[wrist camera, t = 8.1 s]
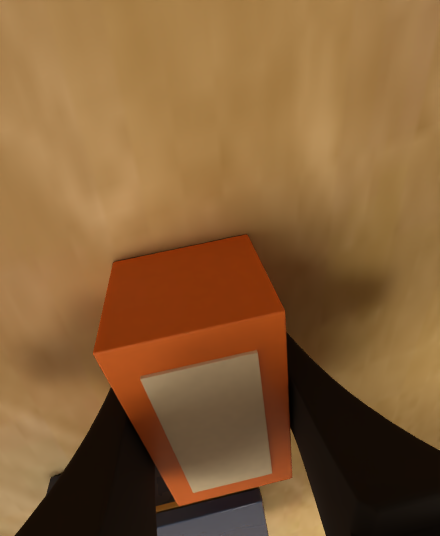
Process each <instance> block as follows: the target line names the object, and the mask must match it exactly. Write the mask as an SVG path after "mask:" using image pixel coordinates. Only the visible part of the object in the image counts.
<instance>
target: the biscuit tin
mask: <svg viewBox="0 0 440 536" xmlns="http://www.w3.org/2000/svg"><path fill="white" fill-rule="evenodd" d="M60 476H61V475H58V476H54V477H51V479H50V483H49V486H48V490H47V494H48V492H49V491H50V490H51V488H52V487H53V486H54V484H55V483H56V481H57V480H58V479H59V477H60ZM47 494H46V495H47ZM155 501H156V523H157V536H268V530H267V524H266V519H265V513H264V507H263V502H262V497H261V493H260V488H259V486H258V487H254V488H250V489H246V490H242V491H238V492H234V493H230V494H226V495H222V496H218V497H214V498H210V499H206V500H202V501H198V502H194V503H190V504H186V505H182V506H178V504H177V503H176V501H175V499H174V497H173V496H172V494H171V492H170V490H169V488H168V487H167V485H166V483H165V481H164V480H163V478H162V476H161V474H160V472H159V471H158V469H157V467H156V465H155Z"/></svg>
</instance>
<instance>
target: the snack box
mask: <svg viewBox="0 0 440 536" xmlns="http://www.w3.org/2000/svg"><path fill="white" fill-rule="evenodd" d="M93 355H94V357H95V359H96V360H97V362H98V364H99V366H100V367H101V369H102V371H103V373H104V375H105V376H106V378H107V380H108V382H109V383H110V385H111V387H112V389H113V391H114V392H115V394H116V396H117V398H118V399H119V401H120V403H121V405H122V407H123V408H124V410H125V412H126V414H127V415H128V417H129V419H130V421H131V423H132V424H133V426H134V428H135V430H136V431H137V433H138V435H139V437H140V439H141V440H142V442H143V444H144V446H145V447H146V449H147V451H148V453H149V455H150V456H151V458H152V460H153V462H154V463H155V465H156V467H157V469H158V471H159V472H160V474H161V476H162V478H163V480H164V481H165V483H166V485H167V487H168V488H169V490H170V492H171V494H172V496H173V497H174V499H175V501H176V503H177V504H178V506H182V505H186V504H190V503H194V502H198V501H202V500H206V499H210V498H214V497H218V496H222V495H226V494H230V493H234V492H238V491H242V490H246V489H250V488H254V487H258V486H262V485H266V484H270V483H274V482H278V481H282V480H286V479H290V478H292V460H291V436H290V412H289V388H288V364H287V340H286V316H285V310H284V308H283V305H282V303H281V301H280V299H279V297H278V295H277V293H276V291H275V289H274V287H273V285H272V283H271V281H270V279H269V277H268V275H267V273H266V271H265V269H264V267H263V265H262V263H261V261H260V259H259V257H258V255H257V253H256V251H255V249H254V247H253V245H252V243H251V241H250V239H249V237H248V235H247V234H246V235H241V236H236V237H231V238H227V239H222V240H217V241H212V242H207V243H203V244H198V245H193V246H188V247H184V248H179V249H174V250H169V251H165V252H160V253H155V254H150V255H145V256H141V257H136V258H131V259H126V260H122V261H117V262H114V263H113V266H112V270H111V275H110V279H109V284H108V288H107V293H106V297H105V302H104V306H103V311H102V315H101V320H100V324H99V329H98V333H97V338H96V342H95V347H94V351H93Z"/></svg>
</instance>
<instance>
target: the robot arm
mask: <svg viewBox="0 0 440 536" xmlns="http://www.w3.org/2000/svg"><path fill="white" fill-rule="evenodd" d="M286 340H287V364H288V388H289V412H290V427H291V430H292V432H293V434H294V437H295V440H296V442H297V445H298V448H299V451H300V454H301V457H302V460H303V463H304V466H305V469H306V472H307V476H308V479H309V482H310V485H311V488H312V492H313V495H314V498H315V501H316V504H317V508H318V511H319V514H320V517H321V521H322V524H323V527H324V531H325V534H326V536H440V451H439V450H438V449H436V448H434V447H432V446H430V445H429V444H427V443H425V442H423V441H422V440H420V439H418V438H416V437H415V436H413V435H411V434H410V433H408V432H407V431H405V430H403V429H402V428H400V427H398V426H397V425H395V424H394V423H392V422H391V421H389V420H388V419H386V418H385V417H383V416H382V415H380V414H379V413H377V412H376V411H374V410H373V409H371V408H370V407H368V406H367V405H366V404H364V403H363V402H362V401H360V400H359V399H358V398H356V397H355V396H354V395H352V394H351V393H350V392H348V391H347V390H346V389H345V388H343V387H342V386H341V385H340V384H339V383H337V382H336V381H335V380H334V379H333V378H332V377H330V376H329V375H328V374H327V373H326V372H325V371H324V370H323V369H322V368H321V367H319V366H318V365H317V364H316V363H315V362H314V361H313V360H312V359H311V358H310V357H309V356H308V355H307V354H306V353H305V352H304V351H303V350H302V349H301V348H300V346H299V345H298V344H297V343H296V342H295V341H294V340H293V339H292V338H291V336H290V335H289V334H288V333H287V332H286ZM15 536H157V523H156V501H155V463H154V462H153V460H152V458H151V456H150V455H149V453H148V451H147V449H146V447H145V446H144V444H143V442H142V440H141V439H140V437H139V435H138V433H137V431H136V430H135V428H134V426H133V424H132V423H131V421H130V419H129V417H128V415H127V414H126V412H125V410H124V408H123V407H122V405H121V403H120V401H119V399H118V398H117V396H116V394H115V392H114V391H113V389H112V387H111V389H110V391H109V393H108V395H107V397H106V399H105V401H104V403H103V405H102V407H101V409H100V411H99V413H98V415H97V417H96V419H95V420H94V422H93V424H92V426H91V428H90V430H89V431H88V433H87V435H86V437H85V438H84V440H83V442H82V443H81V445H80V447H79V448H78V450H77V451H76V453H75V455H74V456H73V458H72V459H71V461H70V462H69V464H68V465H67V467H66V468H65V470H64V471H63V473H62V474H61V476H60V477H59V479H58V480H57V481H56V483H55V484H54V486H53V487H52V488H51V490H50V491H49V492H48V494H47V495H46V496H45V498H44V499H43V500H42V502H41V503H40V504H39V506H38V507H37V508H36V509H35V511H34V512H33V513H32V515H31V516H30V517H29V518H28V520H27V521H26V522H25V524H24V525H23V526H22V527H21V528H20V530H19V531H18V532H17V533H16V535H15Z"/></svg>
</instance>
